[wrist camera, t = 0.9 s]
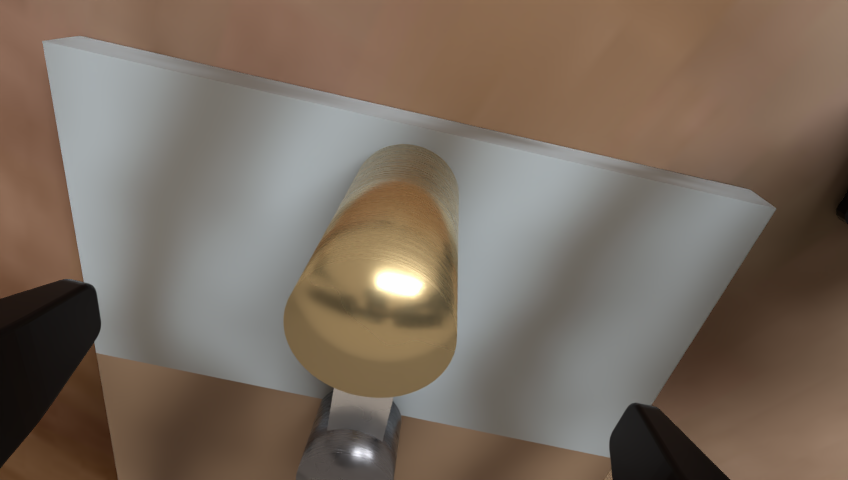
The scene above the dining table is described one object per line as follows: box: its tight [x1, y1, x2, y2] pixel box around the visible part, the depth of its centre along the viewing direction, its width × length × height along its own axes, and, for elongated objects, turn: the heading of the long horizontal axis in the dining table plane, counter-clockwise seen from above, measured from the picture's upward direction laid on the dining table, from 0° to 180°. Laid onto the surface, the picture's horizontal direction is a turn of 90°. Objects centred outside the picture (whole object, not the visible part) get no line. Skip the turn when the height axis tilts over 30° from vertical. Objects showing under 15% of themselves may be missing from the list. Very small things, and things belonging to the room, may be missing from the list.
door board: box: [42, 36, 777, 480], centre depth 20 cm, size 22×24×2 cm
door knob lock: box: [283, 144, 459, 480], centre depth 14 cm, size 13×3×6 cm, turn 168°
